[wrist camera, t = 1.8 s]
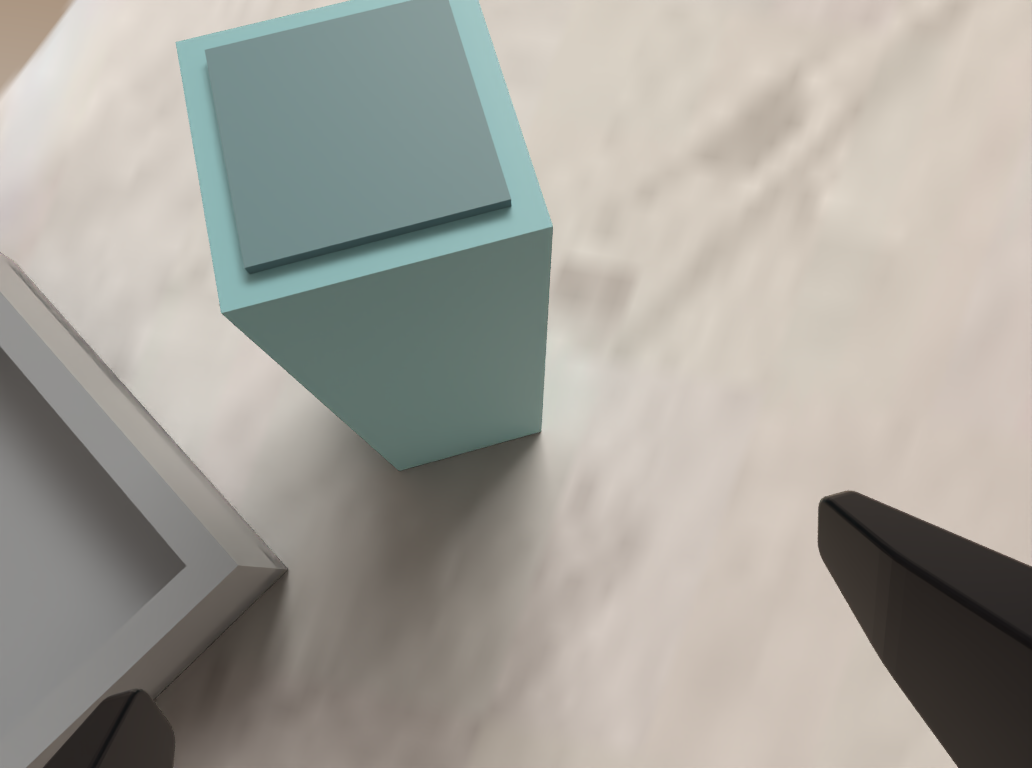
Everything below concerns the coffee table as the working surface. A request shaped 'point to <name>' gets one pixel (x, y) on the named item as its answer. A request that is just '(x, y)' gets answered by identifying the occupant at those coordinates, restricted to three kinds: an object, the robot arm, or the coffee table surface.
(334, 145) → the teal square pillar
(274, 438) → the coffee table surface
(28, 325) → the grey crate
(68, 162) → the coffee table surface
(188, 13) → the coffee table surface
